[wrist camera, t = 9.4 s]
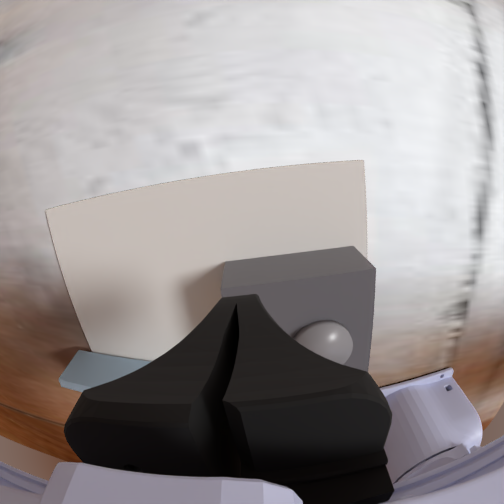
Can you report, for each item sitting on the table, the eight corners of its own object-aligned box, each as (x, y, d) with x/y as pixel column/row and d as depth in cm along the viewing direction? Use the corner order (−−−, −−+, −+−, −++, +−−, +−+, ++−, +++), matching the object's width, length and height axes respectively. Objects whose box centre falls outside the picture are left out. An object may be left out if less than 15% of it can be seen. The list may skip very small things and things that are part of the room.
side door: (78, 347, 22) (57, 377, 18) (239, 367, 22) (238, 404, 19) (83, 365, 23) (65, 395, 19) (238, 385, 23) (237, 422, 19)
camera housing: (353, 245, 20) (379, 272, 15) (350, 354, 23) (368, 393, 18) (220, 262, 20) (213, 294, 16) (240, 369, 23) (239, 412, 18)
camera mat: (361, 160, 18) (363, 160, 18) (359, 371, 24) (360, 374, 23) (48, 208, 19) (45, 210, 18) (113, 390, 24) (112, 393, 24)
